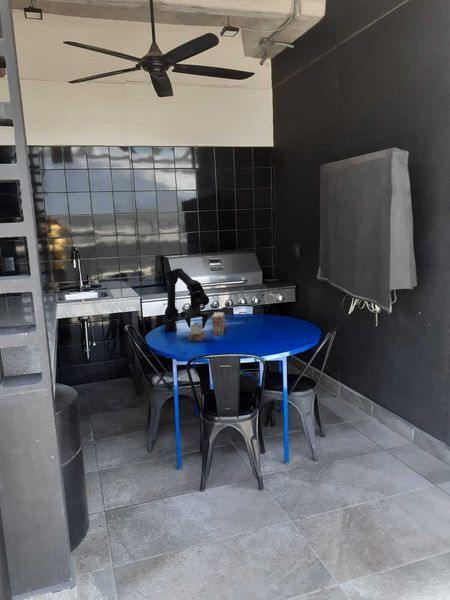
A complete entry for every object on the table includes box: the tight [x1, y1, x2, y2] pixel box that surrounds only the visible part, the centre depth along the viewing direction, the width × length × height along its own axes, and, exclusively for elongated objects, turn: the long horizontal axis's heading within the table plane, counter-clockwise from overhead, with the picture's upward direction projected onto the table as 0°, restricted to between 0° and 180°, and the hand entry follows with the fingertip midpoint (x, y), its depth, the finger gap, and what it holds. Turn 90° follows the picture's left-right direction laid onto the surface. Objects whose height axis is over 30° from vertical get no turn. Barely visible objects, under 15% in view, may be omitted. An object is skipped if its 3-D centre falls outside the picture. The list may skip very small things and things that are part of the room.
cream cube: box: [190, 323, 203, 334], centre depth 275 cm, size 5×5×5 cm
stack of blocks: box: [211, 311, 226, 336], centre depth 292 cm, size 21×6×12 cm, turn 176°
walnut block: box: [187, 331, 206, 342], centre depth 275 cm, size 8×8×4 cm
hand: (196, 328), depth 274 cm, fingers open, 9 cm apart
